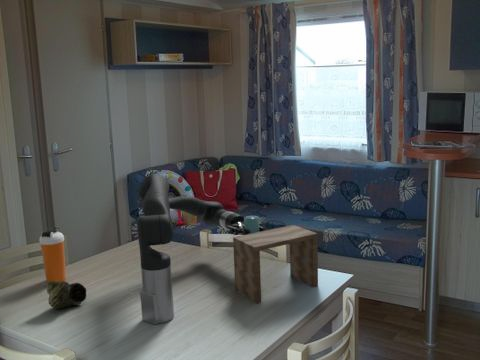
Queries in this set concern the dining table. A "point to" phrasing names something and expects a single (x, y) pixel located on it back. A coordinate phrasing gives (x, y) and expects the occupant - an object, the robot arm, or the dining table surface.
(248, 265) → the wooden bench stool
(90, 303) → the dining table surface
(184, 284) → the dining table surface
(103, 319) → the dining table surface
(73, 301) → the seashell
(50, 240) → the shaker bottle
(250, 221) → the teal upright cylinder
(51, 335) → the dining table surface
